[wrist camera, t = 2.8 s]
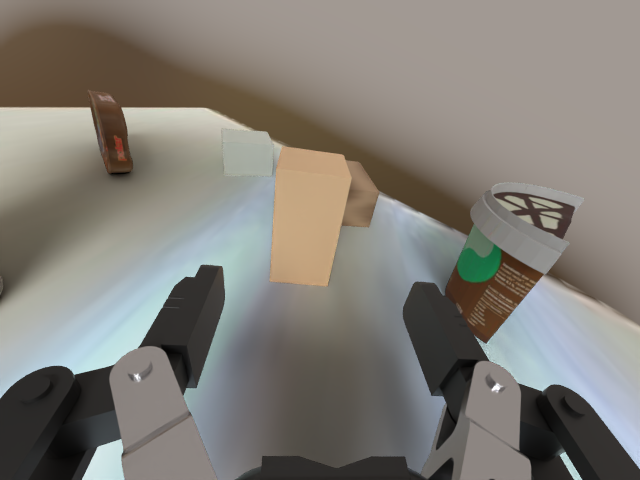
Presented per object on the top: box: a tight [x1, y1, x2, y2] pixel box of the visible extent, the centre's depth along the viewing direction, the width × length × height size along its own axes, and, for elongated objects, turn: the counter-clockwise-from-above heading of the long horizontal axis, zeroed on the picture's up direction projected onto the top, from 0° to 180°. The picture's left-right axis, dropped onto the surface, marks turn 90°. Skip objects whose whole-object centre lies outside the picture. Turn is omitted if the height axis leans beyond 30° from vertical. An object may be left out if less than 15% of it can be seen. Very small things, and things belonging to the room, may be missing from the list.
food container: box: [445, 183, 584, 343], centre depth 23 cm, size 12×6×10 cm, turn 135°
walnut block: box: [341, 161, 379, 227], centre depth 35 cm, size 10×10×5 cm
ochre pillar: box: [270, 146, 352, 286], centre depth 23 cm, size 5×5×10 cm
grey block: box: [221, 129, 274, 177], centre depth 42 cm, size 7×7×5 cm
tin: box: [88, 90, 133, 174], centre depth 36 cm, size 15×3×8 cm, turn 37°
